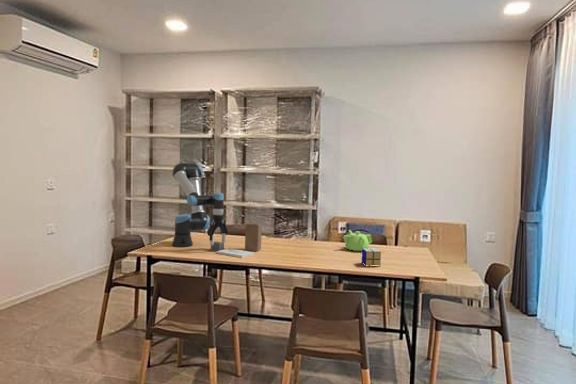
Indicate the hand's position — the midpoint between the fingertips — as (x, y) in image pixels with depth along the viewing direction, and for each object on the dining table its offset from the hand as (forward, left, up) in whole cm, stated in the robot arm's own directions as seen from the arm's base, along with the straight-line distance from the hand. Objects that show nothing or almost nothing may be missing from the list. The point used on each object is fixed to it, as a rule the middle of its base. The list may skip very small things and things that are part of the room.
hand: (217, 243), depth 313 cm
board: (+17, -1, -5) cm, 17 cm away
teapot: (+79, +72, -5) cm, 107 cm away
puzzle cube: (+106, +29, -5) cm, 110 cm away
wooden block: (+19, +18, -5) cm, 26 cm away
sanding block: (0, 0, -5) cm, 5 cm away
